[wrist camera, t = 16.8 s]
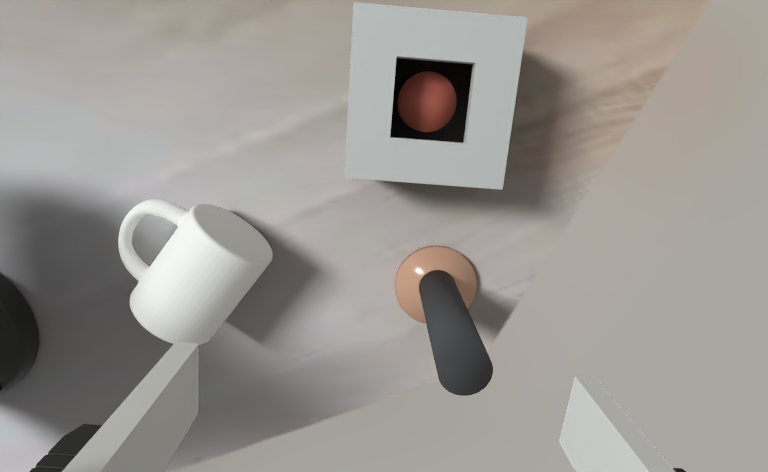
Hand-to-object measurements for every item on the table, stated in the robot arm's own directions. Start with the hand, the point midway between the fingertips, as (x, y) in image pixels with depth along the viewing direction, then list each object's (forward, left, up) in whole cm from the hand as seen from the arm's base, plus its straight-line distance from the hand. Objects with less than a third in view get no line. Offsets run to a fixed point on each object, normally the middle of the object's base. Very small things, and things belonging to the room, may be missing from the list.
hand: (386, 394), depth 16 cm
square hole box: (+3, +11, -28) cm, 30 cm away
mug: (-17, -4, -28) cm, 33 cm away
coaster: (+6, -6, -28) cm, 29 cm away
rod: (+6, -6, -27) cm, 29 cm away
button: (+3, +11, -26) cm, 29 cm away
